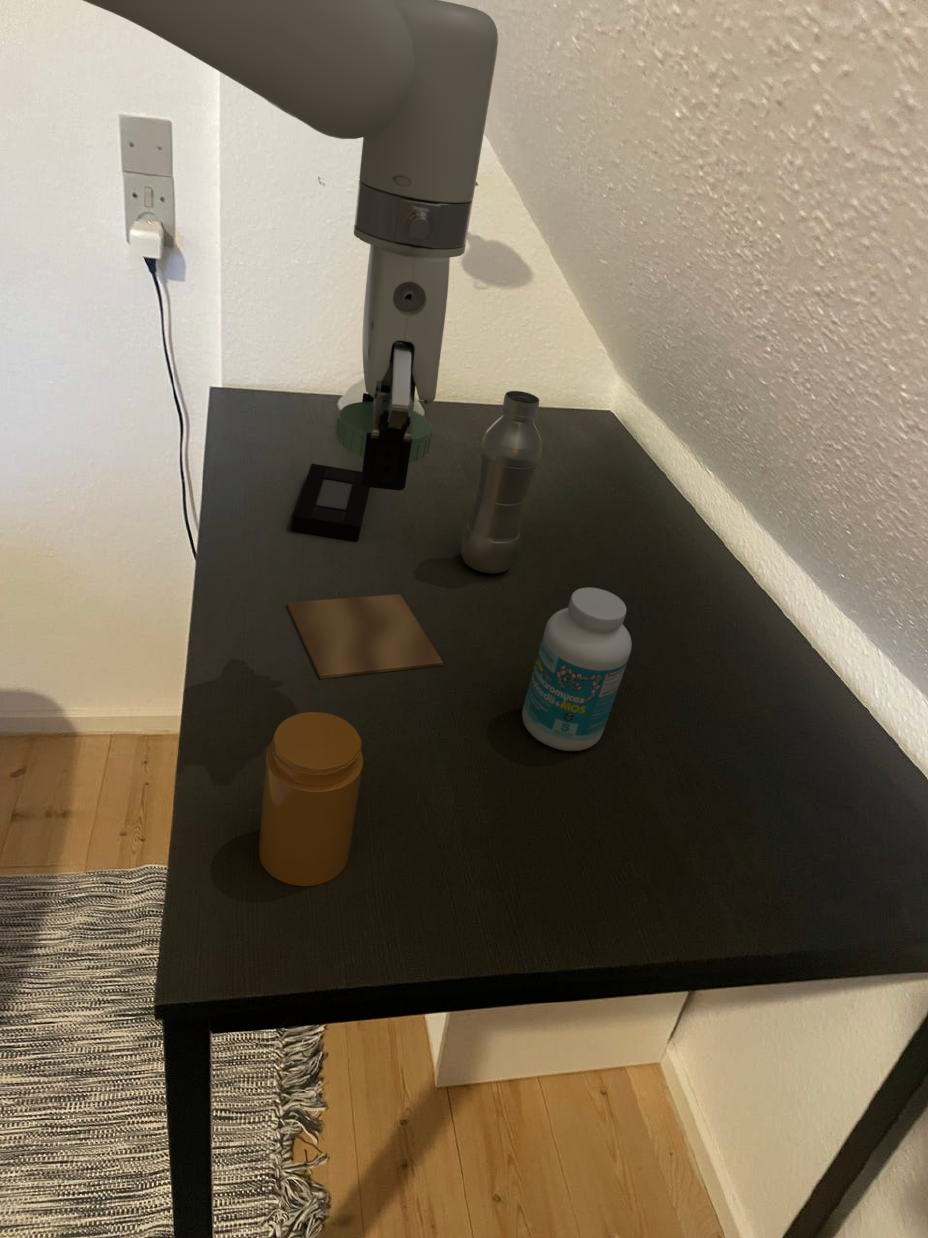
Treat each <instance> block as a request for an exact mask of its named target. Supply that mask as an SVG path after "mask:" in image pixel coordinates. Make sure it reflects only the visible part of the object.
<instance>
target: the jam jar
mask: <svg viewBox="0 0 928 1238" xmlns="http://www.w3.org/2000/svg"><path fill="white" fill-rule="evenodd" d="M361 750H362V738H361V735H359V734H358V731H357V730H356V729H355V727H354V726H353V725H352V724H351V723H349V722H348V721H347V720H345V719H344V718H342V717H340V716H337V715H335V714H332V713H326V712H320V711H309V712H308V711H307V712H301V713H297V714H294V715H292V716H289V717H288V718H286V719H285V720H283V721H282V722H281V723H280V724H279V725H277V728H276V729H275V731H274V735H273V737H272V741H271V743H270V744H269V746H268V747H267V749H266V755H265V765H264V775H263V789H262V803H261V815H260V816H261V817H260V825H259V838H258V839H259V840H258V858H259V861H260V863H261V865H262V867H263V868H264V870H265V871H266V872H267V873H268V874H269V875H270V876H271V877H273V878H274V879H276V880H277V881H279V882H282V883H284V884H287V885H290V886H296V887H313V886H319V885H322V884H325V883H328V882H330V881H331V880H333V879H335V878H337V877H338V875H340V874H341V872H342V871H343V870H344V869H345V868H346V865H347V864H348V862H349V858H350V851H351V844H352V838H353V831H354V826H355V825H354V824H355V819H356V814H357V813H356V812H357V807H358V806H357V805H358V799H359V793H360V788H361V781H362V780H361V779H362V775H363V766H364V756H363V754H362V751H361Z"/></svg>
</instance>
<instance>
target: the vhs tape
mask: <svg viewBox="0 0 928 1238" xmlns="http://www.w3.org/2000/svg"><path fill="white" fill-rule="evenodd" d="M361 476H362V471H359V470H353V469H347V468H341V467H335V466H329V465H323V464H317V463H311V464H310V467H309V469H308V472H307V475H306V477H305V480H304V483H303V486H302V489H301V492H300V495H299V497H298V500H297V503H296V505H295V507H294V511H293V513H292V521H291V530H290V531H291V532H297V533H302V534H309V535H315V536H322V537H328V538H334V539H341V540H347V541H354V542H359V539H360V535H361V531H362V526H363V521H364V516H365V513H366V509H367V503H368V498H369V495H370V494H369V493H370V491H371V488H370V487H364V486H363V485H362V483H361Z"/></svg>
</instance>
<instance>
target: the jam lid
mask: <svg viewBox="0 0 928 1238" xmlns="http://www.w3.org/2000/svg"><path fill="white" fill-rule="evenodd" d="M388 405H389V404H388V403H382V410H381V414H383V412H384V410H388ZM372 414H373V402H362V401H360V402H359V401H358V402H354V403H353V402H352V403H349V404H347V405H345V406H344V407H342V408H341V409H340V411H339V418H337V425H336V433H335V434H336V435H335V436H336V437H337V439H336V440H337V441H338V443H339V444H340V445H341V446H342V447H343V448H344V449H346V450H348V452H350V453H352V454H354V455H357V456H360V457H362V458H364V452H365V443H366V435H367V433H371V426H372ZM432 431H433V425H432V423H431V422H430V420H429V419H428V418H426V417H425V416H424V415H422V414H420V413H419V412H416V410H415V411H414V410H413V420H412V431H411V438H412V444H411V451H410V457H409V463H413V462H416V461H420V460H422V459H424V458H425V457H426V456H427V455H428V454H429V453H430V447H431V442H432V436H433V432H432Z"/></svg>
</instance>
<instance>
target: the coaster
mask: <svg viewBox="0 0 928 1238" xmlns="http://www.w3.org/2000/svg"><path fill="white" fill-rule="evenodd" d="M286 608H287V609H288V612H289V614H290V616H291V618H292V621H293V623H294V626H295V627H296V630H297V632H298V634H299V636H300V639H301V640H302V643H303V645H304V647H305V650H306V652H307V654H308V656H309V659H310V661H311V663H312V665H313V667H314V670H315V671H316V674H317V676H318V678H319V680H324V679H334V678H342V677H351V676H352V677H353V676H361V675H369V674H371V675H372V674H378V673H380V674H381V673H388V672H396V671H406V670H415V669H424V668H433V667H442V666H443V665H444V662H443V660H442V658H441V657H440V655H439V654H438V652H437V650H436V649H435V647H434V645H433V644H432V642H431V641H430V639H429V637H428V636H427V634H426V633H425V631H424V630H423V628H422V626H421V624H420V623H419V622H418V620H417V618H416V616H415V615H414V613H413V612H412V610H411V608H410V607H409V605H408V604H407V602H406V600H405V599H404V597H403V596H402V594H400V593H398V594H397V593H396V594H386V595H385V594H384V595H383V594H382V595H369V596H357V597H343V598H331V599H330V598H329V599H317V600H315V599H314V600H304V601H289V602H286Z"/></svg>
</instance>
